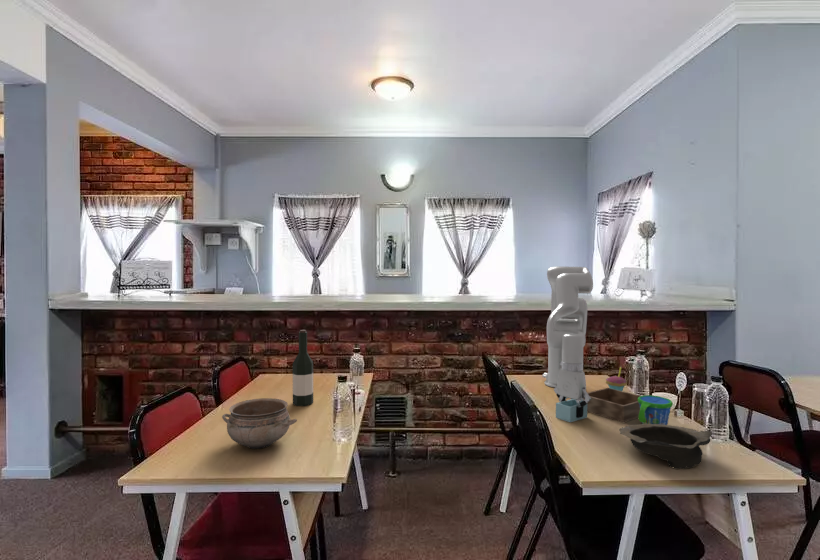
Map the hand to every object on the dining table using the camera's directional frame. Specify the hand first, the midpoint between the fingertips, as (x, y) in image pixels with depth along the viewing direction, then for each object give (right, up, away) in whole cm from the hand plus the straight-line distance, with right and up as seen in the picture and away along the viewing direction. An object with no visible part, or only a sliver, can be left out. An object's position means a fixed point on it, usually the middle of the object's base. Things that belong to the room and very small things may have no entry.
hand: (571, 414), depth 171 cm
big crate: (+19, -1, +7) cm, 21 cm away
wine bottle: (-104, 0, +16) cm, 105 cm away
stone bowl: (+16, -3, -34) cm, 38 cm away
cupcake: (+32, 0, +35) cm, 47 cm away
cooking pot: (-108, -2, -27) cm, 111 cm away
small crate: (0, -1, 0) cm, 1 cm away
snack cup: (+25, -2, -11) cm, 28 cm away
